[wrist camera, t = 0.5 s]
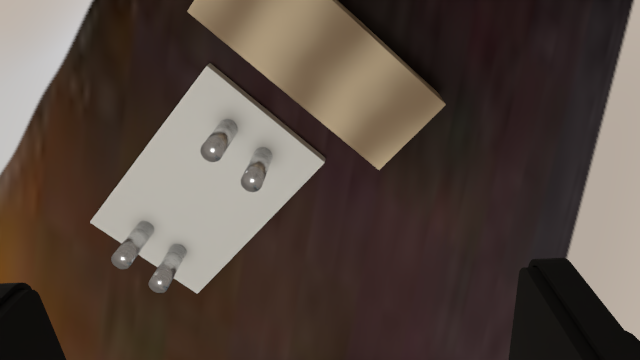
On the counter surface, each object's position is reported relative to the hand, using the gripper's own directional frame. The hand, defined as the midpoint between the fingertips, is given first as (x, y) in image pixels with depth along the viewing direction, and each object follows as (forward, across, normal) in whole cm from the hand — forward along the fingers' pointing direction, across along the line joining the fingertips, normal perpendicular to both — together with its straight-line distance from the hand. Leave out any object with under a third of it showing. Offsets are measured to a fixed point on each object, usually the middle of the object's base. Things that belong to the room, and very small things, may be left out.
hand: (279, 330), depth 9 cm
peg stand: (+29, +11, +10) cm, 33 cm away
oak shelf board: (+29, 0, -1) cm, 29 cm away
